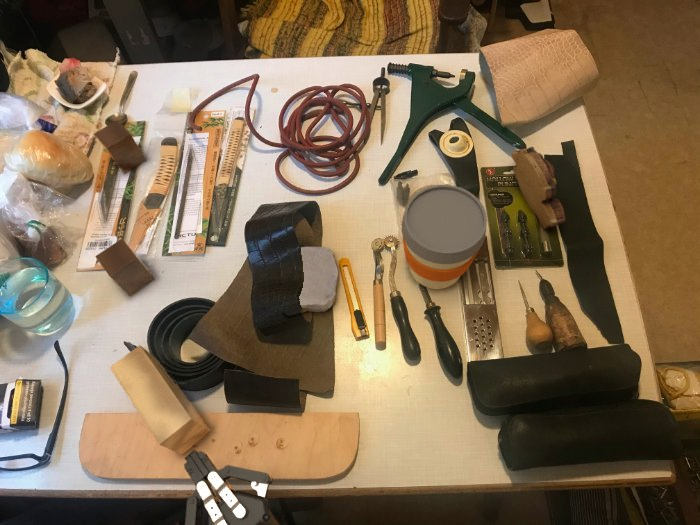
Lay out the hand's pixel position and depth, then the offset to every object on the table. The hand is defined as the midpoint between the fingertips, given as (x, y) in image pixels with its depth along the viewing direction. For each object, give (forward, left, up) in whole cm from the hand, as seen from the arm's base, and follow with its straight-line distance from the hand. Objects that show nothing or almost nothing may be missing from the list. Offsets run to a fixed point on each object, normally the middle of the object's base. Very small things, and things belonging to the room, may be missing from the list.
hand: (191, 454), depth 66 cm
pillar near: (+7, +35, -10) cm, 37 cm away
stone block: (+29, +13, -10) cm, 33 cm away
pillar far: (+19, +59, -10) cm, 63 cm away
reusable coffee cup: (+47, +1, -10) cm, 48 cm away
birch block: (0, +11, -10) cm, 15 cm away
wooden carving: (+69, -1, -10) cm, 70 cm away
